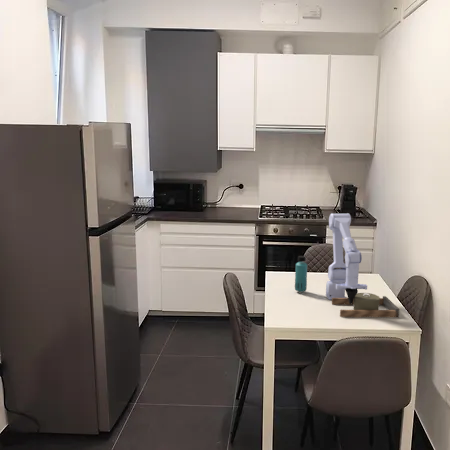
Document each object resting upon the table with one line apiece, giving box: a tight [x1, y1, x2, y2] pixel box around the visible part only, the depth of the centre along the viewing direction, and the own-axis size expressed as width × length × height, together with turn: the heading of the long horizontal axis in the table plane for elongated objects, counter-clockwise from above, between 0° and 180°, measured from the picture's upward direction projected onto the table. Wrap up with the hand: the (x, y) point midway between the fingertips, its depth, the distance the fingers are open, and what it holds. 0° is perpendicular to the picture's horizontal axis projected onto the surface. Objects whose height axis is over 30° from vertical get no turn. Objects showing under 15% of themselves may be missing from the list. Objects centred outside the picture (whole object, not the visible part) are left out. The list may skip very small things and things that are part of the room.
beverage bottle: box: [294, 255, 308, 292], centre depth 242 cm, size 6×7×20 cm
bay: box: [331, 295, 400, 318], centre depth 218 cm, size 27×18×4 cm
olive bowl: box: [352, 292, 381, 310], centre depth 217 cm, size 12×12×7 cm
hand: (350, 303), depth 218 cm, fingers closed
